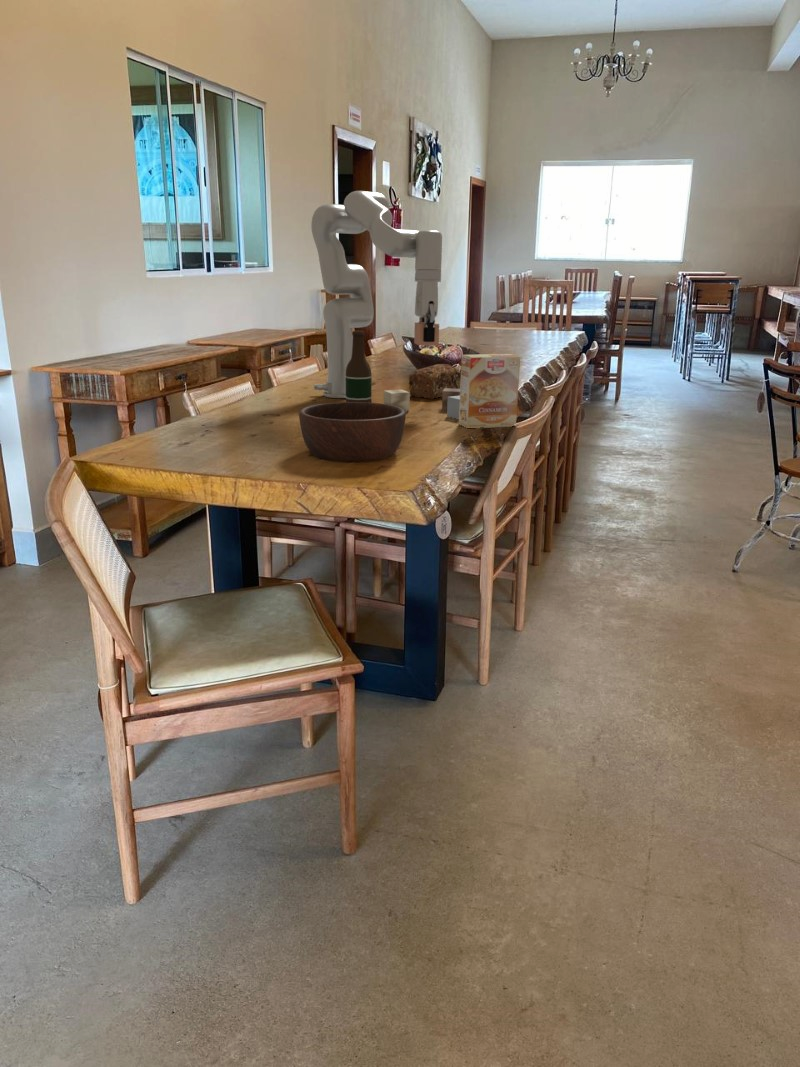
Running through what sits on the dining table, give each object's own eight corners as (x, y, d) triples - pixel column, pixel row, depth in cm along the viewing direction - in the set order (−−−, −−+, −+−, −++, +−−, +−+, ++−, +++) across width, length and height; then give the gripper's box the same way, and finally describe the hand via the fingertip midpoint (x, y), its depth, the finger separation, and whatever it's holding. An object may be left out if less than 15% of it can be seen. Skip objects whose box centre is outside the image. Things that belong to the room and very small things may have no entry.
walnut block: (441, 410, 245) (442, 391, 243) (443, 407, 250) (444, 388, 248) (461, 411, 244) (462, 391, 242) (462, 408, 249) (463, 388, 247)
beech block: (391, 413, 239) (391, 393, 237) (383, 410, 244) (383, 390, 242) (409, 412, 241) (409, 392, 239) (401, 408, 246) (401, 389, 244)
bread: (436, 390, 283) (437, 362, 280) (462, 393, 277) (463, 364, 274) (407, 396, 269) (407, 367, 266) (433, 400, 263) (434, 369, 260)
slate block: (460, 420, 230) (460, 399, 228) (446, 417, 234) (447, 396, 232) (475, 418, 233) (476, 397, 231) (462, 415, 238) (463, 395, 236)
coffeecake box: (467, 429, 217) (470, 357, 211) (457, 424, 223) (460, 354, 217) (517, 426, 221) (521, 355, 215) (506, 422, 228) (509, 353, 222)
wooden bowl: (349, 437, 205) (349, 398, 202) (426, 452, 190) (427, 410, 187) (277, 454, 187) (276, 410, 184) (356, 471, 172) (356, 425, 169)
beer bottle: (373, 410, 242) (373, 330, 234) (369, 415, 234) (369, 332, 227) (347, 410, 242) (347, 329, 235) (343, 414, 235) (342, 331, 227)
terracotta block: (418, 345, 230) (419, 324, 229) (414, 343, 236) (414, 322, 234) (438, 345, 232) (439, 324, 230) (433, 343, 237) (434, 322, 235)
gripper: (409, 275, 235) (407, 337, 241) (421, 276, 219) (420, 343, 225) (433, 275, 236) (432, 337, 242) (448, 277, 220) (445, 343, 226)
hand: (426, 340), depth 233 cm, fingers closed on terracotta block, 6 cm apart
